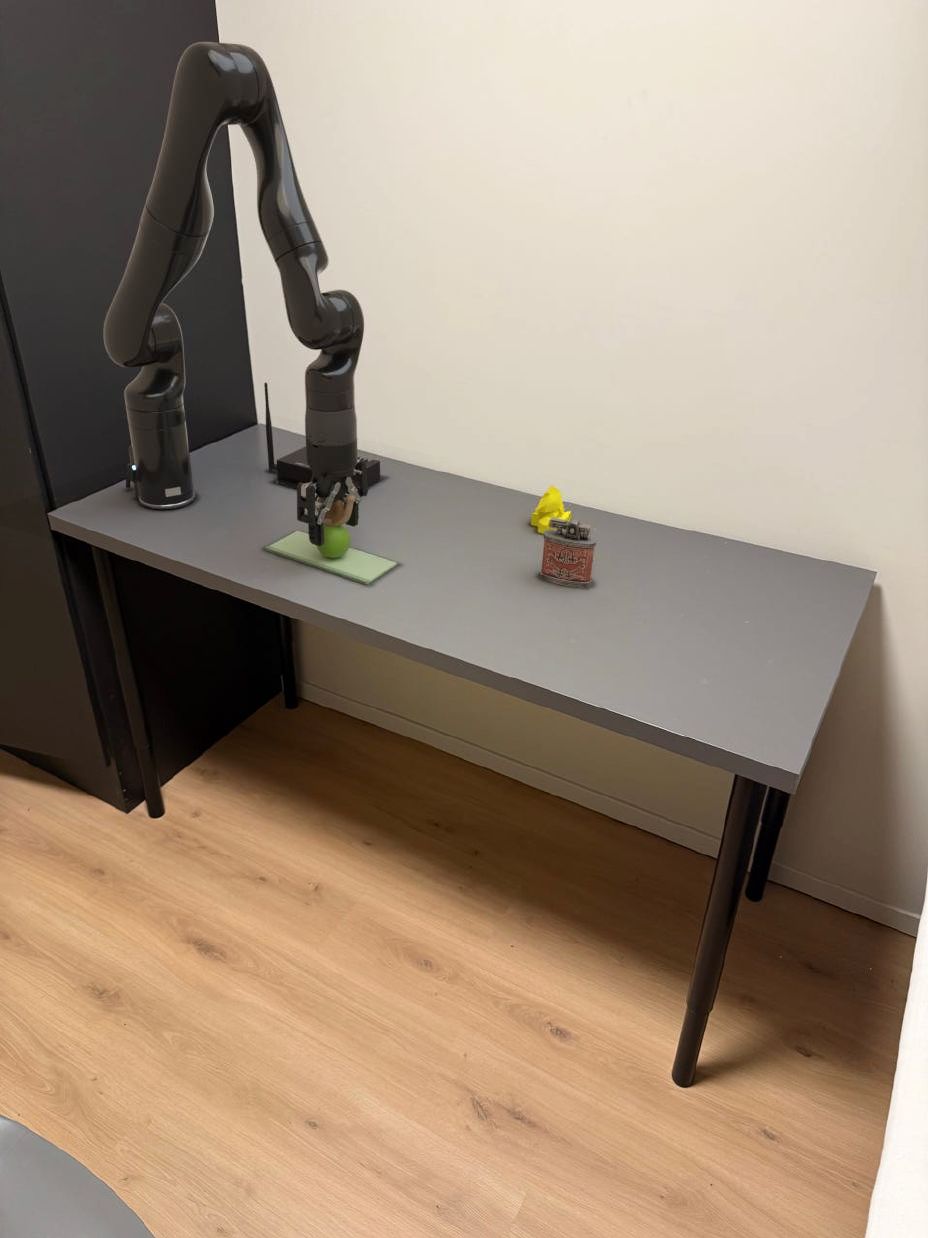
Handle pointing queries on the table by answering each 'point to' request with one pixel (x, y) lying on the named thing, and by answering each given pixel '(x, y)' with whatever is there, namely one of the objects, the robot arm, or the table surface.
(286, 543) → the front mat
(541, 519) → the crumpled paper
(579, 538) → the lighter
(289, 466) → the wireless controller
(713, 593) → the table surface
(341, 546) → the snail figurine
